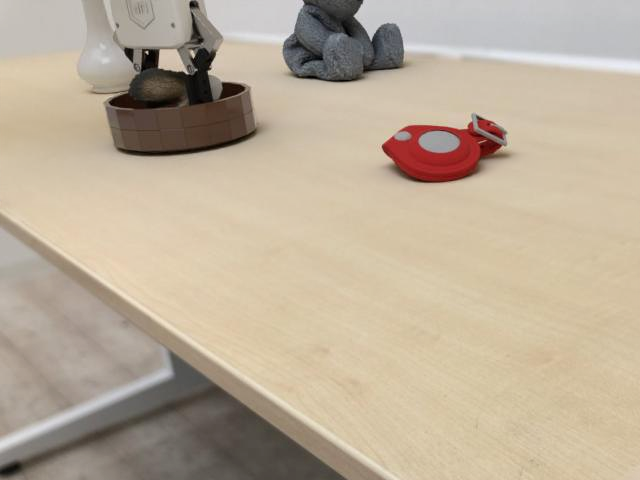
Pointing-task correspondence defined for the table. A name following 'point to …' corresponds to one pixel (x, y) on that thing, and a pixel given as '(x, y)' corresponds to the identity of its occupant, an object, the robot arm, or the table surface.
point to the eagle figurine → (166, 86)
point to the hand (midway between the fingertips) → (180, 106)
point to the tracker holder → (444, 148)
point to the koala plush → (339, 42)
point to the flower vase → (103, 53)
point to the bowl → (181, 121)
